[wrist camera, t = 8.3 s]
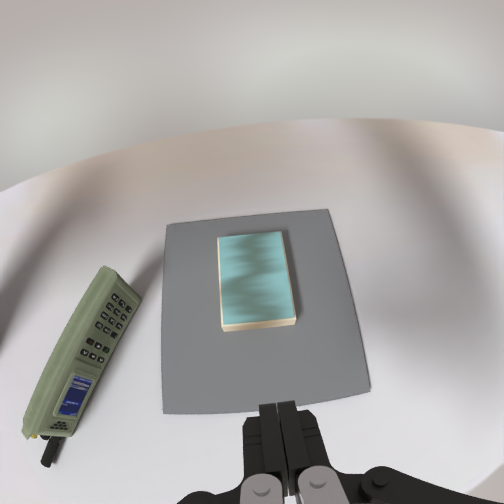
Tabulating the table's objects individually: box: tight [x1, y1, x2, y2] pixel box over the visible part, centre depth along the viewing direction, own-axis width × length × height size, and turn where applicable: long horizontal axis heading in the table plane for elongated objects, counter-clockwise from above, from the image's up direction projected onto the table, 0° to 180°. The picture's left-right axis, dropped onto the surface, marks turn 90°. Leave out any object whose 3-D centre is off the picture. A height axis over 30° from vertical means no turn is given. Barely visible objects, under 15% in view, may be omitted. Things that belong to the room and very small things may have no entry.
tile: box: [217, 231, 296, 332], centre depth 30 cm, size 7×2×10 cm
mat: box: [161, 209, 370, 414], centre depth 30 cm, size 20×22×1 cm
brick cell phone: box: [22, 266, 141, 468], centre depth 22 cm, size 7×3×25 cm
